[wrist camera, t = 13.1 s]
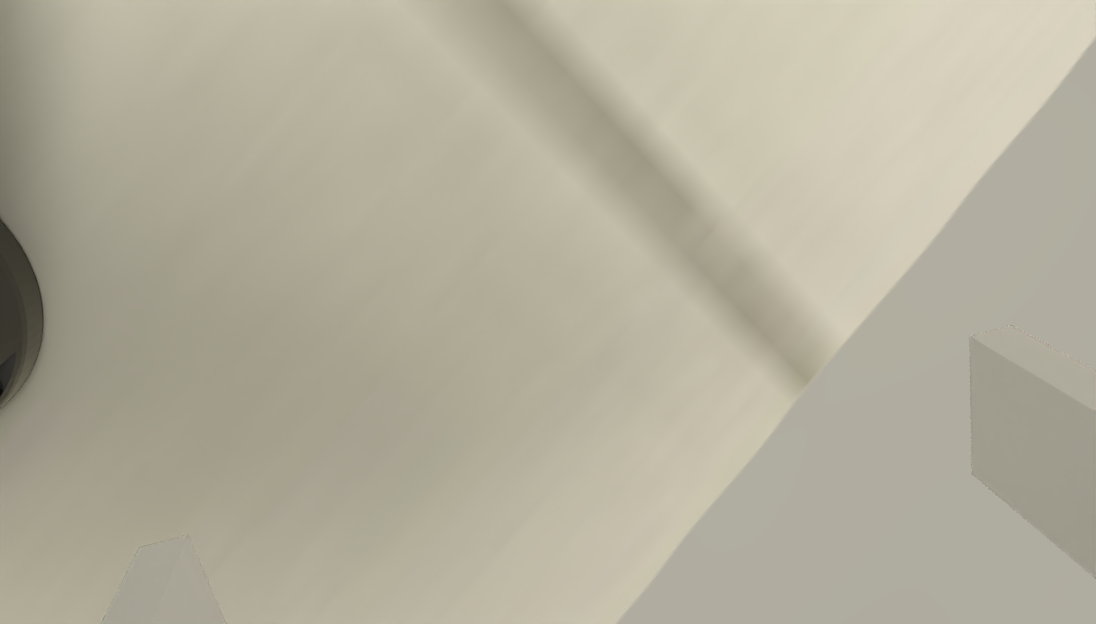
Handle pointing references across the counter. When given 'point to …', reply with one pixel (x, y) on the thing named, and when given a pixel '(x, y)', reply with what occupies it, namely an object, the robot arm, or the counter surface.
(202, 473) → the counter surface
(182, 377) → the counter surface
